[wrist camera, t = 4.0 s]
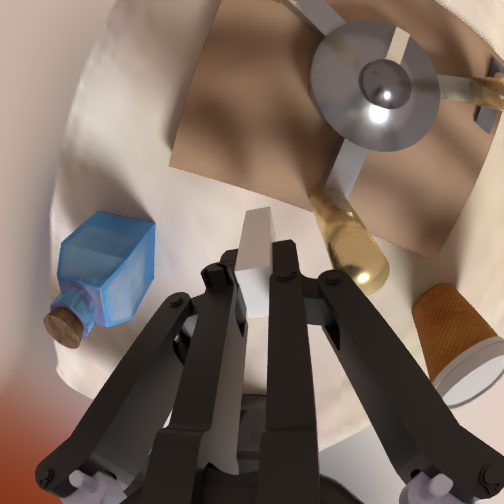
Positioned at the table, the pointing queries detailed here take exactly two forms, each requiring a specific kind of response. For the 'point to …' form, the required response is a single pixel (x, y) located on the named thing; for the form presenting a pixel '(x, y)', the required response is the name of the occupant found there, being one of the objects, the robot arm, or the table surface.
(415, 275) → the table surface
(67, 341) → the perfume bottle
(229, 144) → the stand
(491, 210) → the table surface
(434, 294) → the disposable coffee cup
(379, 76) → the capstan
